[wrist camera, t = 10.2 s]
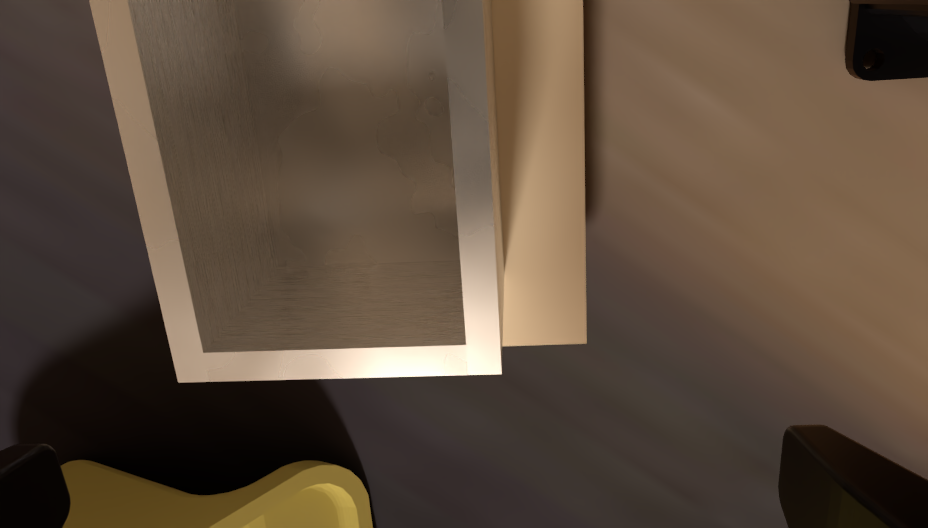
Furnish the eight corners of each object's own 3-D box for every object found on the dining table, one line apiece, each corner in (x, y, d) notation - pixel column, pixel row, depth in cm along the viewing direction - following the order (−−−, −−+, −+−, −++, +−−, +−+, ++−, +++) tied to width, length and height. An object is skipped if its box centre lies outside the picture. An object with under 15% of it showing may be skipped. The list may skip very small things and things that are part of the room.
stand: (567, -281, 16) (579, -341, 13) (576, 296, 21) (586, 343, 18) (138, -236, 17) (62, -283, 14) (243, 309, 21) (203, 356, 19)
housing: (504, 272, 17) (501, 374, 13) (265, 282, 18) (178, 382, 13) (481, -204, 14) (466, -306, 9) (185, -176, 14) (29, -261, 10)
